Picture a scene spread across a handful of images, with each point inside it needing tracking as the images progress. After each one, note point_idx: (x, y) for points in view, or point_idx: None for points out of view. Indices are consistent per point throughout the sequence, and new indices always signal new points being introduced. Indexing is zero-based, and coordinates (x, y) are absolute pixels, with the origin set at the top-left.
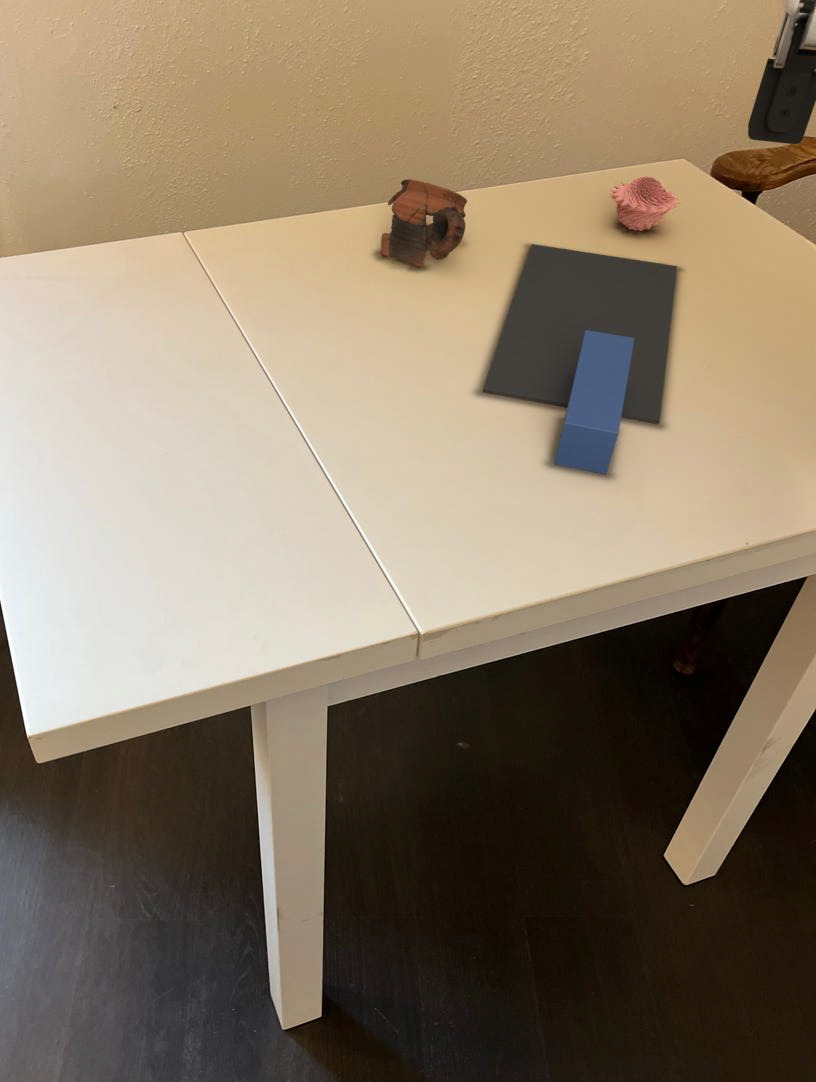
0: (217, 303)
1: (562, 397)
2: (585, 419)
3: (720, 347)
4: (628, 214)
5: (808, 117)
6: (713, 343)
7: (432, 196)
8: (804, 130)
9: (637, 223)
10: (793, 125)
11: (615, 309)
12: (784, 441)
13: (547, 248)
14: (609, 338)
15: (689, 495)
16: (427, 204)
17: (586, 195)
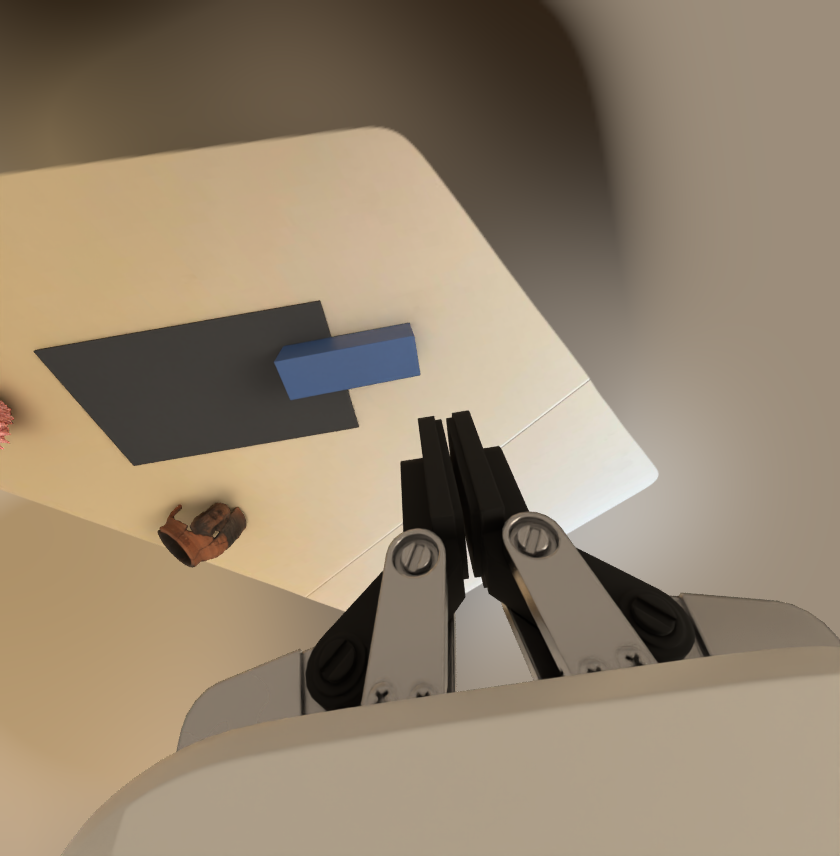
0: (359, 560)
1: None
2: (409, 363)
3: (146, 272)
4: (4, 422)
5: (476, 438)
6: (145, 280)
7: (197, 547)
8: (471, 422)
9: (3, 408)
10: (499, 448)
11: (175, 380)
12: (268, 168)
13: (128, 454)
14: (289, 380)
15: (403, 251)
16: (207, 544)
17: None
